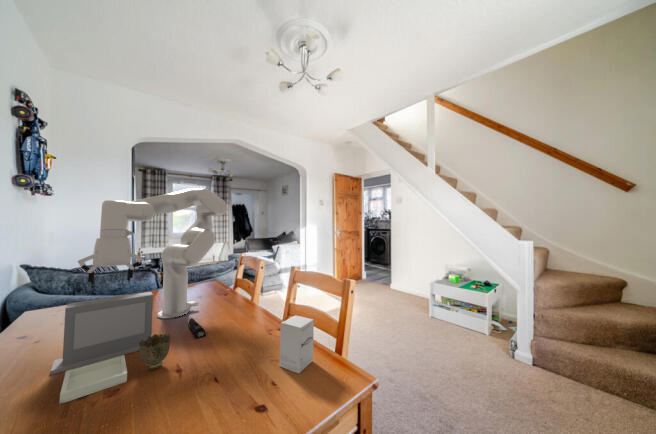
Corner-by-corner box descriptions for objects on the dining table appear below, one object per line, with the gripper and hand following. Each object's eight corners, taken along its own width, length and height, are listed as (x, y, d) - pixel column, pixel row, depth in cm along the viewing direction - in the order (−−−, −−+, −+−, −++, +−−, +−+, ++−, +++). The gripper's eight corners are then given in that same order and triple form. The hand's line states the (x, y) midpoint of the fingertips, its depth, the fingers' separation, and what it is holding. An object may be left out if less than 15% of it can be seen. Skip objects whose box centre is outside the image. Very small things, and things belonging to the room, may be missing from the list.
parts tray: (124, 362, 70) (124, 354, 70) (126, 381, 61) (127, 372, 61) (65, 379, 62) (66, 371, 62) (59, 404, 53) (60, 394, 53)
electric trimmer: (196, 324, 99) (196, 316, 99) (206, 337, 87) (206, 328, 87) (186, 326, 96) (186, 318, 96) (195, 340, 84) (195, 331, 85)
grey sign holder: (155, 337, 85) (157, 290, 86) (158, 344, 80) (160, 294, 81) (54, 363, 69) (57, 304, 69) (50, 374, 64) (54, 310, 64)
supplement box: (299, 374, 65) (300, 327, 66) (278, 366, 69) (279, 322, 69) (313, 361, 71) (314, 319, 72) (294, 354, 75) (294, 314, 76)
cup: (153, 377, 63) (154, 346, 64) (130, 373, 65) (132, 343, 65) (176, 361, 71) (177, 334, 71) (155, 358, 72) (156, 331, 72)
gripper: (143, 234, 95) (140, 277, 94) (80, 234, 83) (77, 283, 82) (145, 234, 89) (142, 280, 88) (79, 234, 77) (75, 287, 76)
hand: (111, 282), depth 85 cm, fingers open, 9 cm apart
